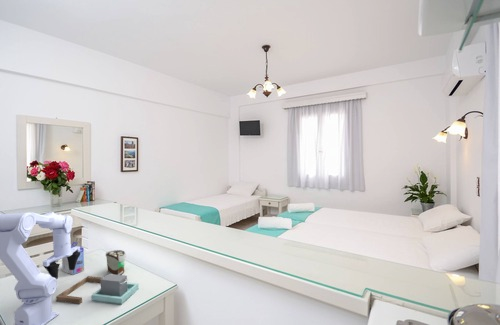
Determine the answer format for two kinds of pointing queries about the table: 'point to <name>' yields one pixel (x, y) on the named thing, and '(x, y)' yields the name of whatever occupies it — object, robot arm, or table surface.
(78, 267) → the ink cartridge box
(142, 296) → the table surface
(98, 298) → the tray
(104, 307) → the table surface
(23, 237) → the robot arm
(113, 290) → the gray box with handle
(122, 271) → the food container
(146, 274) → the table surface
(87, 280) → the frame
